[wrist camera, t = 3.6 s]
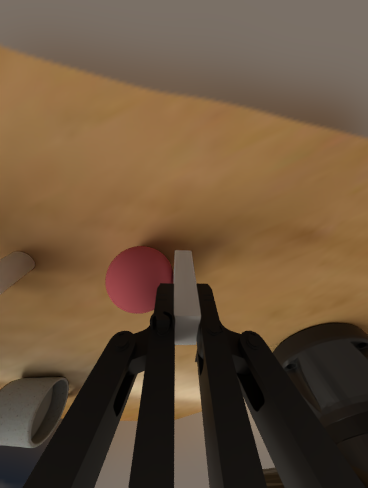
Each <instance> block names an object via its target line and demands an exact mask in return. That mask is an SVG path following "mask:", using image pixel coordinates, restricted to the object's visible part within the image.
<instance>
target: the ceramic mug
mask: <svg viewBox="0 0 368 488" xmlns="http://www.w3.org/2000/svg"><path fill="white" fill-rule="evenodd" d="M68 391H69V385H68V381H67V379H66V378H64V377H43V378H23V379H18V380H14V381H12V382H10V383H8V384H7V385H5V386H4V387H3V388H2V389H1V390H0V445H7V446H18V447H27V448H34V447H37V446H39V445H40V444H42V443H43V442H44V441H45V440H46V439H47V438H48V437H49V435H50V434H51V433H52V431H53V430H54V428H55V427H56V425H57V423H58V421H59V419H60V418H61V415H62V413H63V410H64V407H65V405H66V401H67V397H68Z"/></svg>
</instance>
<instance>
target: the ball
mask: <svg viewBox="0 0 368 488" xmlns="http://www.w3.org/2000/svg"><path fill="white" fill-rule="evenodd" d="M173 282H174V275H173V270H172V266H171V264H170V262H169V261H168V259H167V258H166V257H165V256H164V255H163V254H162V253H161V252H160V251H158V250H156V249H154V248H151V247H146V246H137V247H132V248H129V249H126V250H124V251H123V252H121V253H120V254H119V255H117V256H116V257H115V258H114V260H113V261H112V262H111V264H110V266H109V268H108V270H107V274H106V289H107V293H108V295H109V297H110V299H111V300H112V302H113V303H114V304H115V305H116V306H118V307H119V308H120V309H122V310H124V311H127V312H130V313H146V312H149V311H152V310H154V307H155V300H156V292H157V288H158V286H159V285H160V283H173Z"/></svg>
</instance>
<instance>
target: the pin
mask: <svg viewBox="0 0 368 488" xmlns="http://www.w3.org/2000/svg"><path fill="white" fill-rule="evenodd" d="M34 267H35V262H34V260H33V259H32V257H30V256H29V255H28V254H26V253H23V252H19V251H16V252H12V253H11V254H9V255H7V256H6V257H4V258H2V259H1V260H0V294H2V293H3V292H4V291H5V290H7V289H8V288H9V287H10V286H12V285H13V284H14V283H16V282H17V281H18V280H19V279H21V278H22V277H23V276H24V275H26V274H27V273H28V272H29V271H31V270H32V269H33V268H34Z"/></svg>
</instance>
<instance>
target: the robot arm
mask: <svg viewBox="0 0 368 488" xmlns="http://www.w3.org/2000/svg"><path fill="white" fill-rule="evenodd" d="M196 341H197V353H196V359H195V362H197V365H198V375H199V385H200V395H201V405H202V415H203V426H204V436H205V446H206V456H207V465H208V476H209V485H210V486H209V487H210V488H368V335H367V334H366V333H365V332H364V331H363V330H362V329H361V328H359V327H357V326H354V325H350V324H342V323H334V324H325V325H320V326H316V327H312V328H309V329H306V330H303V331H301V332H299V333H297V334H295V335H293V336H291V337H289V338H288V339H286V340H285V341H283V342H282V343H281V344H280V345H279V346H278V347H277V348H276V349H275V350H274V352H273V353H272V351H271V350H270V348H269V347H268V346H267V344H266V343H265V341H264V340H263V339H262V337H261V336H260V335H258V334H257V333H255V332H252V331H245V332H243V333H242V334H239V333H236V332H233V331H230V330H228V329H226V328H225V327H224V326H223V325H222V324H221V322H220V320H219V316H218V312H217V308H216V304H215V301H214V296H213V292H212V289H211V288H210V286H209V285H208V284H196V278H195V271H194V265H193V258H192V251H187V250H175V258H174V283H160V285H159V286H158V288H157V292H156V300H155V307H154V313H153V315H152V316H151V318H150V326H149V327H148V328H147V329H145V330H143V331H141V332H138V333H135V334H133V333H131V332H129V331H121V332H118V333H117V334H115V335H114V336H113V337H112V338H111V339H110V341H109V343H108V344H107V346H106V348H105V349H104V351H103V353H102V354H101V356H100V358H99V359H98V361H97V363H96V364H95V366H94V368H93V370H92V371H91V373H90V375H89V376H88V378H87V380H86V381H85V383H84V385H83V386H82V388H81V390H80V391H79V393H78V395H77V397H76V398H75V400H74V402H73V403H72V405H71V407H70V408H69V410H68V412H67V413H66V415H65V417H64V418H63V420H62V422H61V424H60V425H59V427H58V429H57V430H56V432H55V434H54V435H53V437H52V439H51V440H50V442H49V444H48V445H47V447H46V449H45V451H44V452H43V454H42V456H41V457H40V459H39V461H38V462H37V464H36V466H35V467H34V469H33V471H32V472H31V474H30V476H29V478H28V479H27V481H26V483H25V484H24V486H23V488H94V487H95V484H96V481H97V479H98V476H99V473H100V471H101V468H102V466H103V463H104V460H105V458H106V455H107V452H108V450H109V447H110V445H111V442H112V439H113V437H114V434H115V431H116V429H117V426H118V424H119V421H120V418H121V416H122V413H123V410H124V408H125V405H126V403H127V400H128V397H129V395H130V392H131V389H132V387H133V384H134V381H135V379H136V376H137V374H138V373H140V372H143V371H145V372H144V379H143V387H142V394H141V401H140V408H139V415H138V423H137V430H136V437H135V444H134V452H133V460H132V466H131V474H130V481H129V488H174V386H175V345H196ZM243 397H244V399H245V402H246V404H247V406H248V408H249V410H250V412H251V415H252V417H253V419H254V421H255V424H256V426H257V428H258V430H259V432H260V435H261V437H262V439H263V441H264V443H265V445H266V448H267V450H268V452H269V454H270V457H271V459H272V461H273V463H274V465H275V468H269V469H262V466H261V462H260V459H259V455H258V451H257V448H256V444H255V440H254V436H253V432H252V429H251V425H250V421H249V418H248V414H247V410H246V406H245V403H244V399H243Z"/></svg>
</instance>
